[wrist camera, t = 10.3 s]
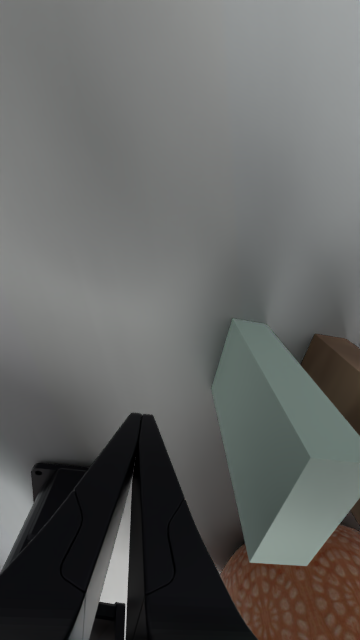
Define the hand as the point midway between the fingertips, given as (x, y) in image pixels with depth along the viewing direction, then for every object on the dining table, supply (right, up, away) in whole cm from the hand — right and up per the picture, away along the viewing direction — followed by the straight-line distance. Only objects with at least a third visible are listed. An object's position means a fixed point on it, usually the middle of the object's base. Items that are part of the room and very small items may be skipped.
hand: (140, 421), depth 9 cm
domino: (+5, +1, +6) cm, 8 cm away
